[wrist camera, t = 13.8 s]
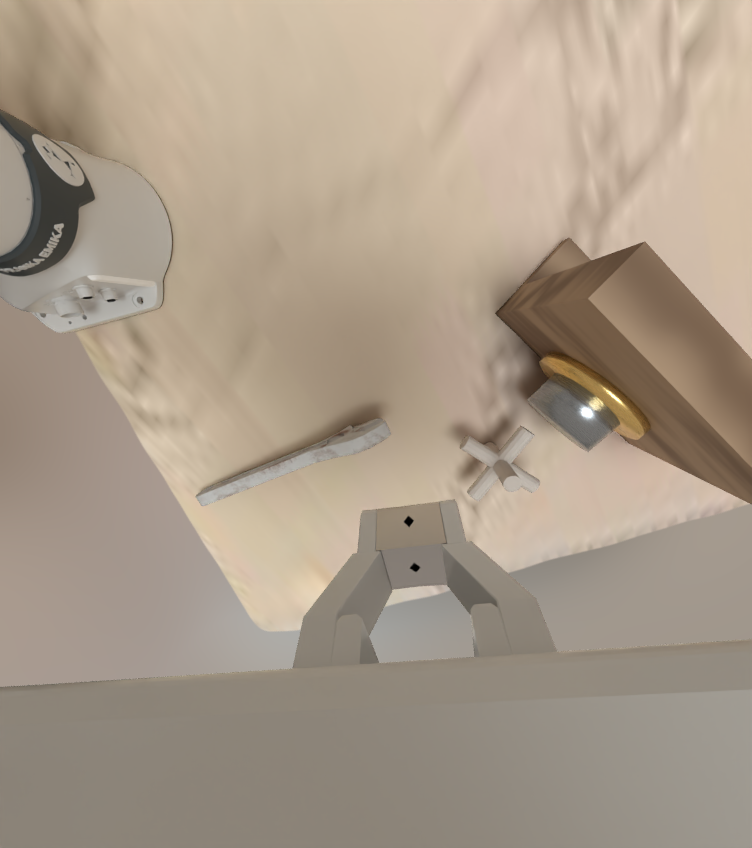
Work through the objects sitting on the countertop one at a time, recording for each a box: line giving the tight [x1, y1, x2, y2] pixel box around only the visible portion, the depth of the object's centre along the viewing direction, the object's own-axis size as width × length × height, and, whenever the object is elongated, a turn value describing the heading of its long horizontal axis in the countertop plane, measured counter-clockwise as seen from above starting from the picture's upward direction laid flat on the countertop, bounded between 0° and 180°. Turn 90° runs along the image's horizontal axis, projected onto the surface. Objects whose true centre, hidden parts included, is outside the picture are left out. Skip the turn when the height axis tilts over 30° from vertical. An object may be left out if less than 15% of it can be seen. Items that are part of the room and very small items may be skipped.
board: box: [495, 238, 752, 504], centre depth 30 cm, size 10×24×20 cm, turn 49°
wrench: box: [196, 418, 391, 506], centre depth 43 cm, size 8×2×30 cm
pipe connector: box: [460, 426, 540, 501], centre depth 39 cm, size 10×10×10 cm
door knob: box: [527, 351, 651, 452], centre depth 35 cm, size 5×12×12 cm, turn 49°
